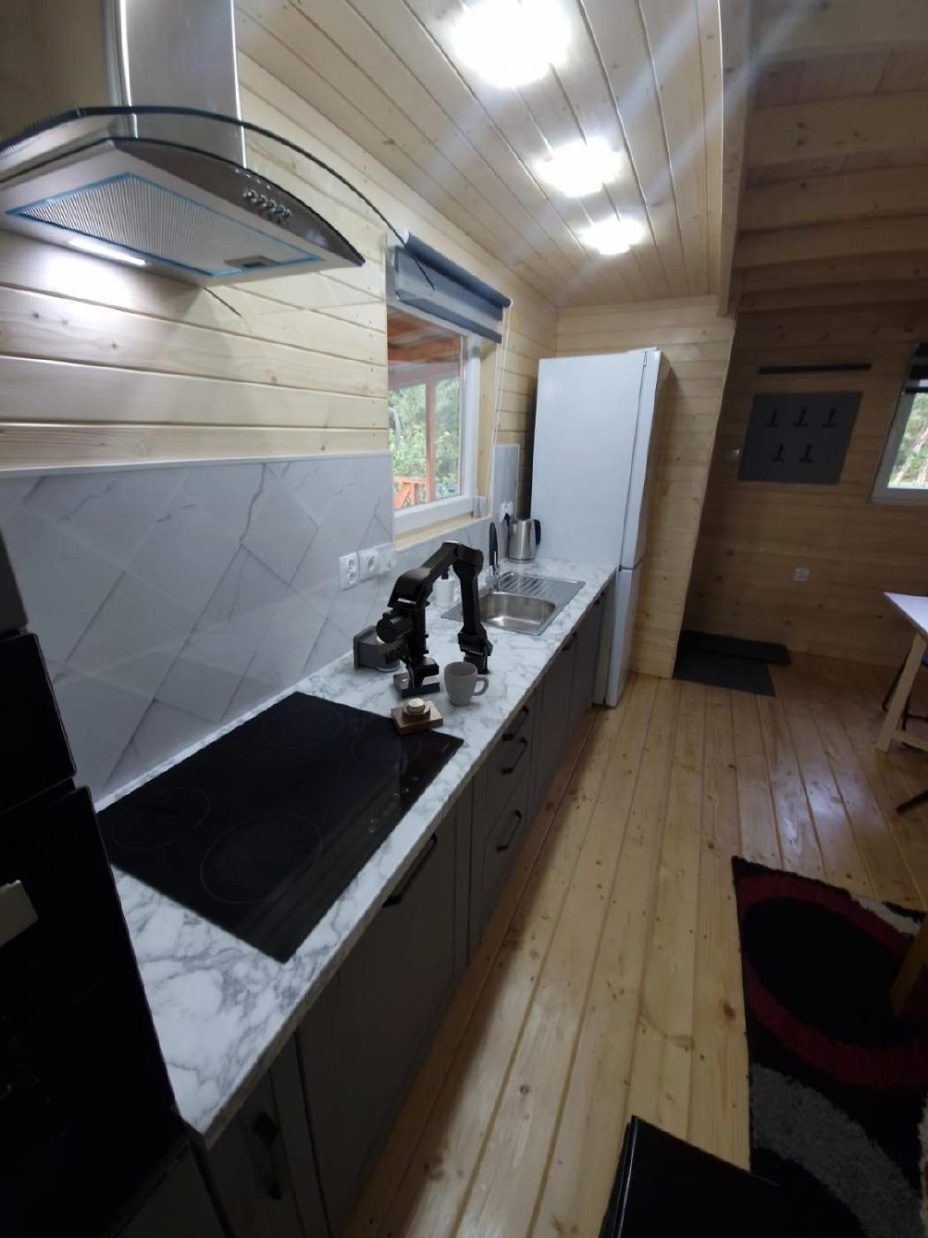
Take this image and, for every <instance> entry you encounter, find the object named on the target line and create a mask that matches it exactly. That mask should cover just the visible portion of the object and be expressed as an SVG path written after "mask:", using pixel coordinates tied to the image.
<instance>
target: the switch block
mask: <svg viewBox="0 0 928 1238" xmlns="http://www.w3.org/2000/svg"><path fill="white" fill-rule="evenodd" d="M409 701H410V700H408V701H407V702H405V703H404V704H403V705H402V706H397V707H393V708H390V717H391V720H392V721H393V723H394V725H395V727H396V728H397V731H398V733H399V735H400V736H403V735H407V734H411V733H416V732H421V731H425V730H429V729H434V728H438V727H443V726H444V717H443V716H442V714H441V712H440V711H439V710H438V708H437V707H436V706H435V704H434V702H433V701H432V700H426V701H425V700H423V701H424V710H423V711H421V712H411V711H409V710H408V702H409Z"/></svg>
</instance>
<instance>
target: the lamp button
mask: <svg viewBox="0 0 928 1238" xmlns="http://www.w3.org/2000/svg"><path fill="white" fill-rule="evenodd" d="M408 701H409V702H408ZM408 701H407V702H408V710H409V711H411V712H421V711H423V710H424V701H425V700H423V699H422V698H418V697H417V698H412V699H409V700H408Z"/></svg>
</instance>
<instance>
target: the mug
mask: <svg viewBox="0 0 928 1238" xmlns="http://www.w3.org/2000/svg"><path fill="white" fill-rule="evenodd" d="M443 677H444V687H445V690H446V692H447V696H448V697H449V699H450V702H451V703H452V704H453V705H456V706H466V705H468V704H470V702H471V699H472V697H478V696H479V697H480V696H483V695H484V694H485V693H486V692H487V690H488V688H489V686H490V681H489V678H488V676H487V675H486V674H482V675H478V674H477V668H476V666H475V665H473V664H471V663H468V662H463V661H452V662H450V663H448V664H446V665H445V666H444V669H443ZM477 682H483V686H482V689H480V690H478V691H475V690H476V687H477Z"/></svg>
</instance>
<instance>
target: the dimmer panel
mask: <svg viewBox="0 0 928 1238" xmlns="http://www.w3.org/2000/svg"><path fill="white" fill-rule="evenodd" d="M392 684H393V686H394V687H395V689H396V691H397V693H398V694H399V696H400V698H401V699H402V700H404V699H408V698H413V697H419V696H423V695H428V694H432V693H433V694H434V693H438V692H440V690H441V689H440V687H441V686H440V685H441V682H440V681H439V679H438V677H436V675H435V676H429V677H425V678H424V680H423V682H422V684H421V686H420V688H419V689H415V688H414V684H412V683H411V680H409V673H408V671H406V672H400V673H395V674H394V673H393V674H392Z"/></svg>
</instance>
